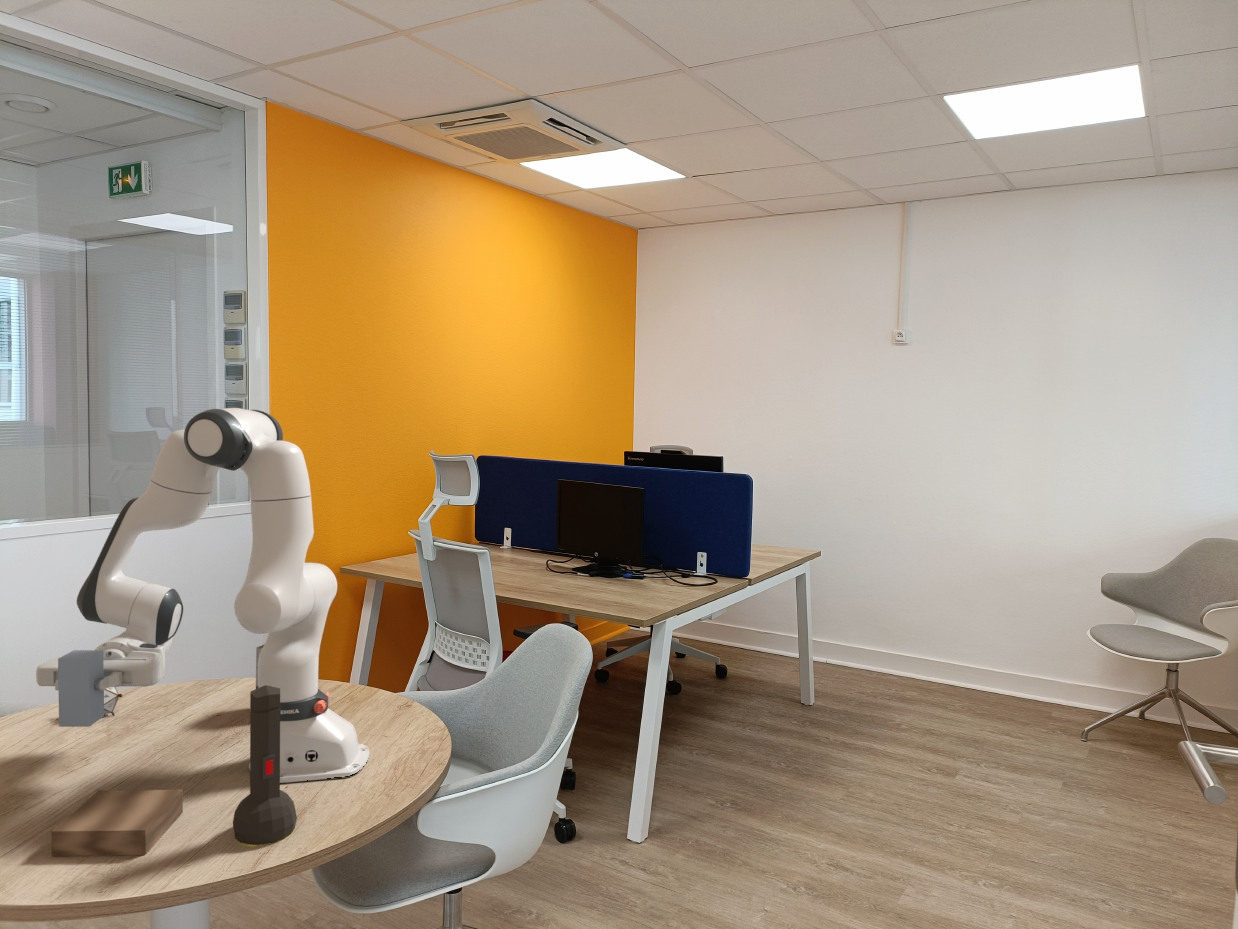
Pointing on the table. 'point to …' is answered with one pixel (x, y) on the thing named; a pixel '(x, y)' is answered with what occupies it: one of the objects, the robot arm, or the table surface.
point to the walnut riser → (117, 823)
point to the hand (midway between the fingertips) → (78, 686)
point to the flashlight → (264, 777)
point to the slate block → (80, 688)
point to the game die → (110, 699)
